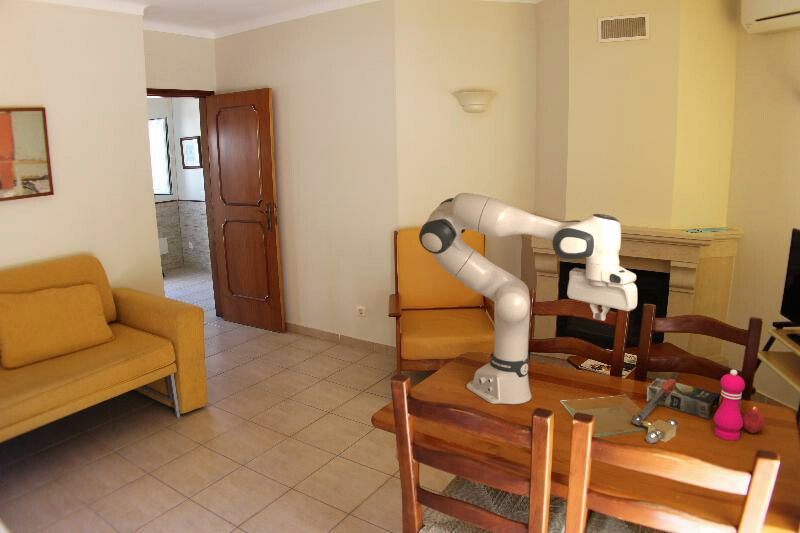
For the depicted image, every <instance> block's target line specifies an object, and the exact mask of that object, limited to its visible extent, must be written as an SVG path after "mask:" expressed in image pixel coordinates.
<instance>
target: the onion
mask: <svg viewBox="0 0 800 533" xmlns="http://www.w3.org/2000/svg"><path fill="white" fill-rule="evenodd" d="M741 416H742V419H743V428H744V430H746V431H748V432H749V433H751V434H754V433H758V432H760V431H761V430H762V429H764V427H765V426H766V425H765V424H766V421H765V417H764V415H763V414H762V413H761V412H760V411H759V410H758V407H756V406H752V408H750V409H748V410H746V411H744V412H743V413H742V414H741Z"/></svg>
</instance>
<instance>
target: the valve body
mask: <svg viewBox="0 0 800 533" xmlns="http://www.w3.org/2000/svg"><path fill="white" fill-rule="evenodd" d="M640 424H641V425H642V426H644V427H647V433H646V435H645V441H646V442H647V443H648V444H655V443H657V442H658V441H662V442H664V443H667V442H668V441H670V440H671V439H672V438H674V437H676V436H677V428H678V424H679V423H678V422H677V421H676V420H675V419H672V418H669V419H668V420H666V421H664V420H661V419H657V420H656V421H654V422H649V421H647V420H646V419H643V420H641V422H640Z"/></svg>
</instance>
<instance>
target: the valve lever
mask: <svg viewBox="0 0 800 533" xmlns="http://www.w3.org/2000/svg"><path fill="white" fill-rule="evenodd" d="M676 383H677V382H676V379H673V378H669V379H668V381H667V382H666V383H665V384H664V385H663V386H662V387H661V390H660V392H659V393H658V394H657V395H656V396H655V397H654V398H653V399H652V400H651V401H650V402H647V404H646V405H645V406H644V407H643V408H642V410H640V411H639V413H637V415H635V414H634V415H633V417H632V419H631V423H632V424H634V425H637V426H639V427H640V426H641V425H642V424H640V422H641V420H645V418H646V417H647V416H648V415H649V414H650V413H651V412H652V411H653V410H654V409H655V407H656V406H657V405H658V403H659V402H660V401H661V400H662V399H663V398H664V397H665V396H668V394H669V393H670V392H671V391H672V390H673V389H674V388H675V387H676Z"/></svg>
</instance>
